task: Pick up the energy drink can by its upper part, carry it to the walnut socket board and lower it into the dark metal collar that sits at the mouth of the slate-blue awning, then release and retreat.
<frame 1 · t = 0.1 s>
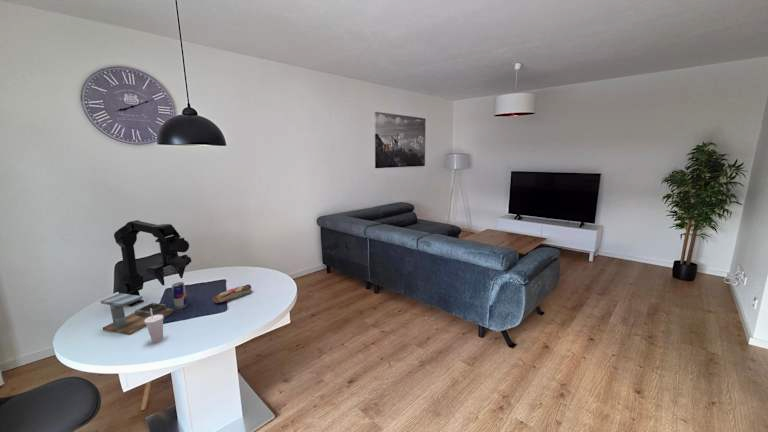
hand: (172, 281, 154), 15 cm above the table, fingers open, 9 cm apart
smoothie: (157, 340, 131), on the table
pencil case: (234, 298, 169), on the table
socket board: (140, 320, 147), on the table
energy drink: (181, 306, 160), on the table
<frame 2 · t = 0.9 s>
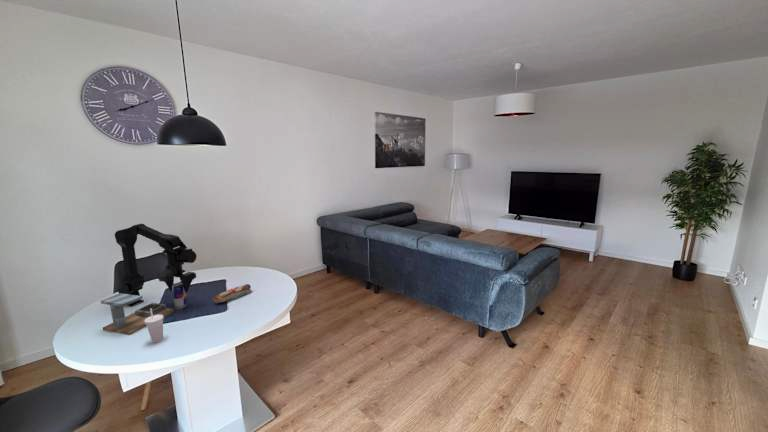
hand: (178, 291, 158), 8 cm above the table, fingers open, 9 cm apart
nothing on the table moved.
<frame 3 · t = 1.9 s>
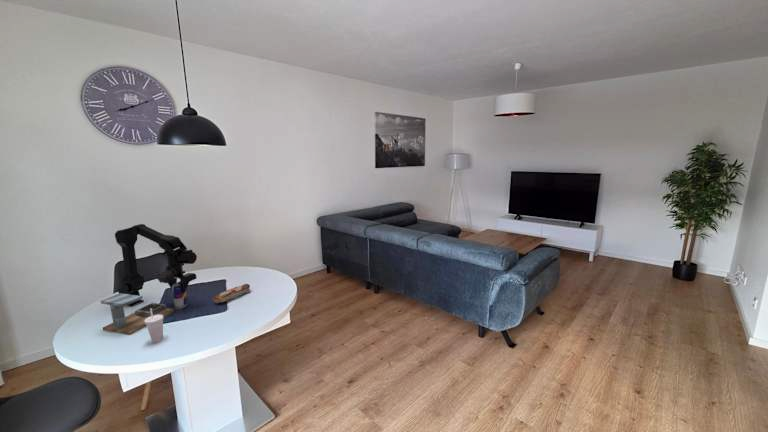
hand: (179, 292, 158), 8 cm above the table, fingers closed on energy drink, 5 cm apart
energy drink: (181, 306, 160), on the table, touching gripper
everything else where it was.
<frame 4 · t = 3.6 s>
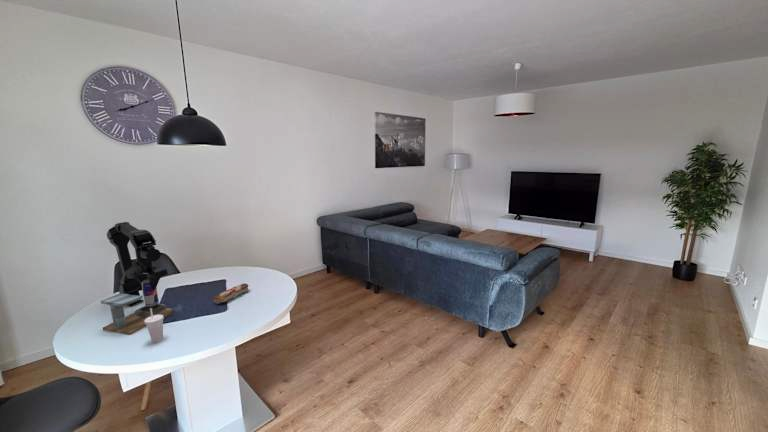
hand: (149, 289, 150), 13 cm above the table, fingers closed on energy drink, 5 cm apart
energy drink: (152, 304, 152), point 5 cm above the table, touching gripper
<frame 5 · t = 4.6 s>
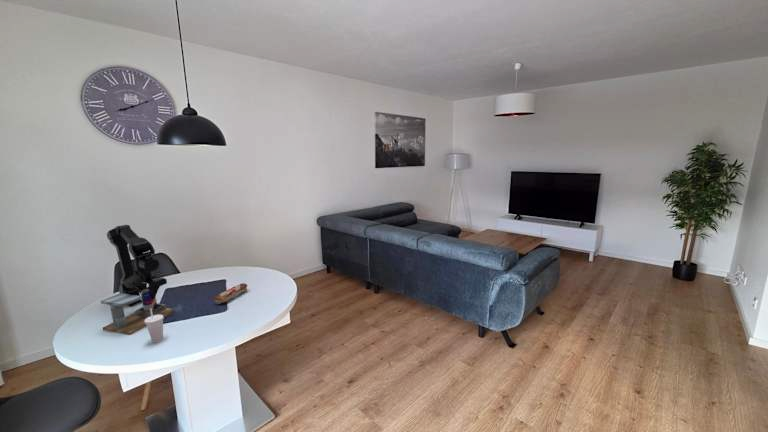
hand: (148, 298, 150), 8 cm above the table, fingers closed on energy drink, 5 cm apart
energy drink: (151, 313, 152), resting in socket board, touching gripper
when the fingers open (8 cm above the table, at t = 5.3 s): energy drink stays where it is, resting in socket board.
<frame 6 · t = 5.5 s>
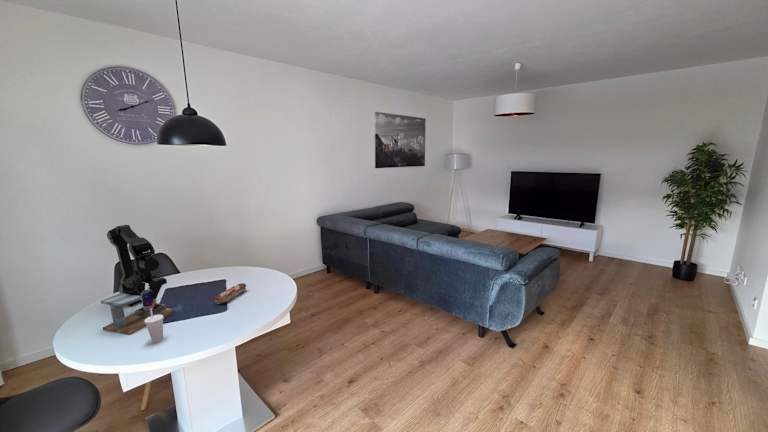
hand: (148, 298, 150), 8 cm above the table, fingers open, 7 cm apart
energy drink: (151, 314, 152), resting in socket board
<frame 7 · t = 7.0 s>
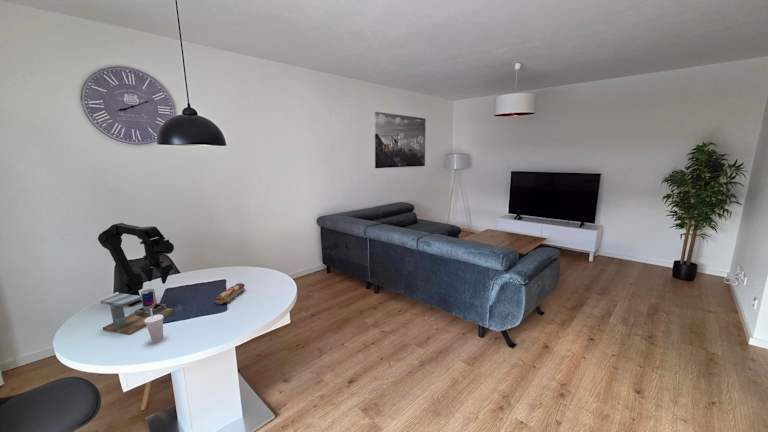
hand: (157, 282, 158), 13 cm above the table, fingers open, 9 cm apart
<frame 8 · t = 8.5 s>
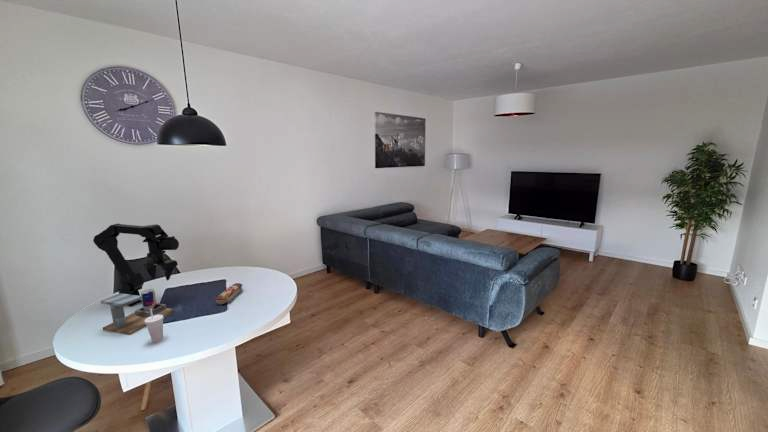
hand: (160, 279, 161), 13 cm above the table, fingers open, 9 cm apart
at the end: energy drink 0.1 cm from the target spot on the socket board, point 0.0 cm above the socket board's base; energy drink tilted 0°; the gripper is holding nothing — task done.
